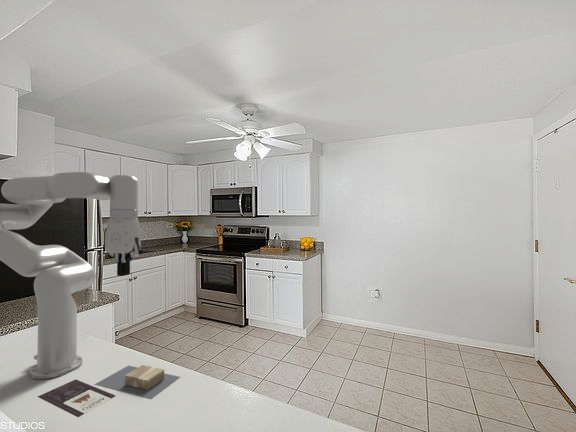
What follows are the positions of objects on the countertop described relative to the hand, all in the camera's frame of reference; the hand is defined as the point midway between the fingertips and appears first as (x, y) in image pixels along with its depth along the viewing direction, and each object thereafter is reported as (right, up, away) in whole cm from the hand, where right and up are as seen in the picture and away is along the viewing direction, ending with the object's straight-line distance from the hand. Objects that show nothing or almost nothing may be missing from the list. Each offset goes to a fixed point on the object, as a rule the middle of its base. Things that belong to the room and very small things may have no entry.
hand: (123, 275), depth 89 cm
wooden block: (+7, -27, -6) cm, 29 cm away
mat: (+8, -29, -7) cm, 31 cm away
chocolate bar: (-4, -30, -14) cm, 33 cm away
